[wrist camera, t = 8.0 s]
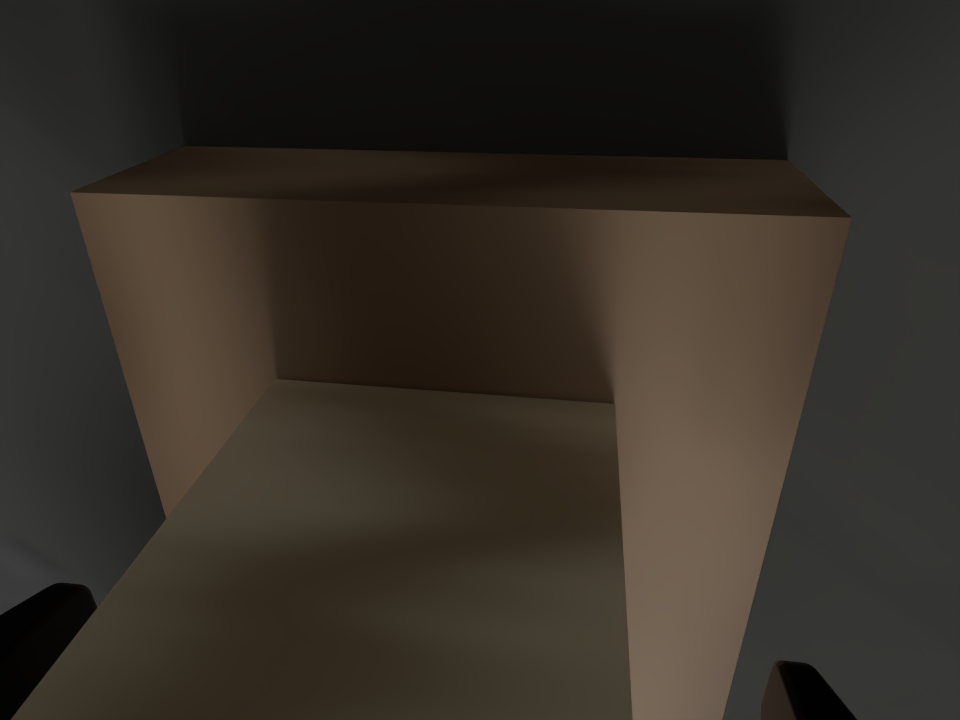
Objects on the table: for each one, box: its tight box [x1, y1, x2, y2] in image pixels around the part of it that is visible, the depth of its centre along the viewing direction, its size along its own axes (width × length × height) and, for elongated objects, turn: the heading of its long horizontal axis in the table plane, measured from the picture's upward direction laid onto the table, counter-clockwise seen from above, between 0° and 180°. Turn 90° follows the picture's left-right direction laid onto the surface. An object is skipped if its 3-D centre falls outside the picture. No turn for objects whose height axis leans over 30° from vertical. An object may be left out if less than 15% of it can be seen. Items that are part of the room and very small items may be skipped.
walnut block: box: [70, 146, 852, 720], centre depth 13 cm, size 10×10×4 cm
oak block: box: [11, 379, 633, 720], centre depth 9 cm, size 5×5×6 cm
